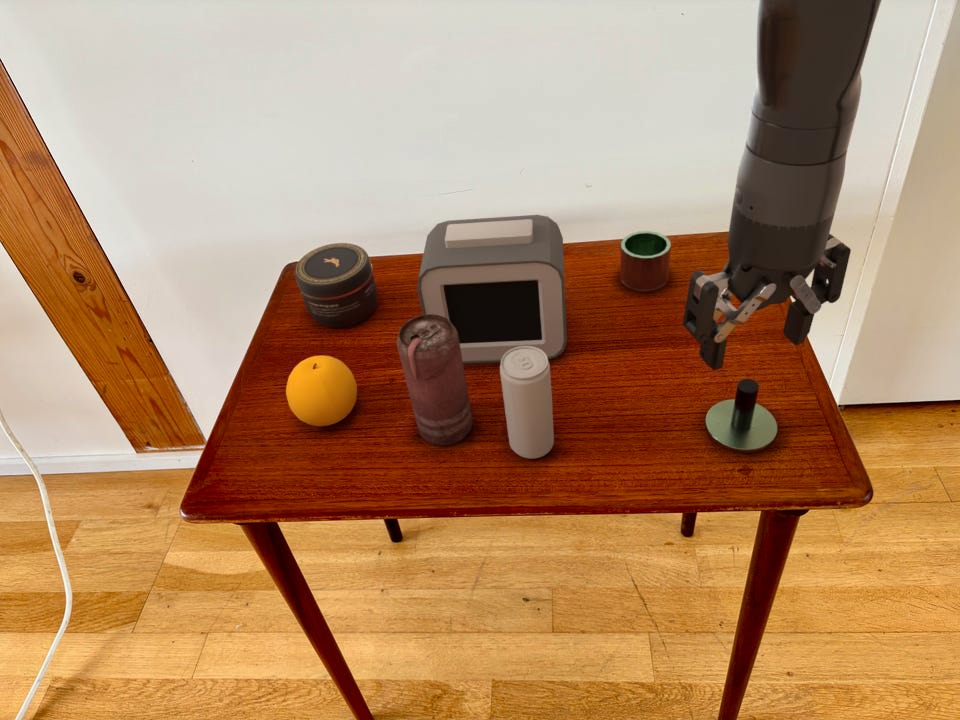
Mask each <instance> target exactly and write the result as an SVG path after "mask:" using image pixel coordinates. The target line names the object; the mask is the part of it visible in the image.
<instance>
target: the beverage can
mask: <svg viewBox="0 0 960 720" xmlns="http://www.w3.org/2000/svg"><path fill="white" fill-rule="evenodd" d="M499 374H500V382H501V383H500V384H501V389H502V398H503V406H504V411H505V412H504V413H505V418H506V427H507V435H508V443H509V446H510V449H511V450H512V451H513V452H514V453H515V454H516V455H518V456H520V457H521V458H524V459H528V460H531V459H532V460H536V459H539V458H540V459H541V458H542V457H544V456H546V455H547V454H548V453H549V452H550V451H551V450H552V448H553V447H554V444H555V432H554V418H553V417H554V415H553V413H554V412H553V393H552V392H553V391H552V381H551V380H552V379H551V366H550V362H549V359H548V358H547V355H546V354H545V353H544V352H543V351H542V350H540V349H539V348H536V347H533V346H520V347H516V348H513V349H511V350H509V351H508V352H506V353H505V354H504V356H503V357H502V359H501V362H500V365H499Z"/></svg>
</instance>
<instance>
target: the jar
mask: <svg viewBox="0 0 960 720" xmlns="http://www.w3.org/2000/svg"><path fill="white" fill-rule="evenodd" d="M294 277H295V280H296V284H297V288H298V290H299V292H300V294H301V297H302V300H303V302H304V306H305V308H306V311H307V312H308V314H309V315H310V317H311V318H312V319H313V321H315V322H316V323H317V324H319V325H321V326H323V327H326V328H330V329H343V328H349V327H352V326H355V325H357V324H360V323H361V322H363V321H365V320H366V319H367V318H369V316H371V315H372V314H373V312H374V310H375V309H376V308H377V305H378V287H377V284H376V279H375V276H374V267H373V264H372V263H371V259H370V257H369V255H368V253H367V251H366V250H365V249H364V248H363V247H361V246H359V245H357V244H354V243H347V242H336V243H330V244H325V245H322V246H319V247H317V248H315V249H312V250H310V251H309V252H307V253H306V254H304V255H303V256H302V257H301V258H300V259H299V260H298V262H297V264H295V268H294Z"/></svg>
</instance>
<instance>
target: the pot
mask: <svg viewBox="0 0 960 720" xmlns="http://www.w3.org/2000/svg"><path fill="white" fill-rule="evenodd" d="M671 251H672V244H671V240H670V239H669V238H668V237H667V236H666V235H664V234H662V233H660V232H657V231H651V230H641V231H636V232H635V231H634V232H632V233H629V234H628V235H627V236H625V237H623V239H622V241H621V242H620V266H619V267H620V271H619V274H620V283H621V284H622V285H623V286H624V287H625V288H626V289H628V290H631V291H633V292H636V293H637V292H638V293H651V292H655V291H659V290H661V289H663V287H665V286H666V285H667V283H668V281H669V277H670V263H671Z"/></svg>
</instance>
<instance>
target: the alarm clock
mask: <svg viewBox="0 0 960 720" xmlns="http://www.w3.org/2000/svg"><path fill="white" fill-rule="evenodd" d="M564 259H565V258H564V237H563V234H562V232H561V229H560V227H559V224H558V223H557V222H555V221H554V220H553V219H552V218H550V217H549V216H546V215H541V214H529V215H528V214H527V215H516V216H515V215H513V216H512V215H511V216H497V217H483V218H469V219H468V218H466V219H465V218H464V219H453V220H452V219H451V220H446V221H441V222H439V223H436V225H434V227H433V228H432V229H431V230H430V232H429V233H428V234H427V236H426V240H425V245H424V249H423V254H422V260H421V262H420V263H421V264H420V269H419V273H418V278H417V286H416V290H417V296H418V299H419V305H420V309H421V314H422V315H428V314H434V315H440V316H443V317H445V318H447V319H448V320H449V321H450V322H451V323H452V325H453V326H454V327H455V328H456V330H457V332H458V338H459V343H460V349H461V355H462V360H463V365H464V364H465V365H466V364H467V365H469V364H470V365H471V364H492V363H493V364H494V363H495V364H496V363H501V359H502V357H503V356H504V354H505V353H506V352H508V351H509V350H511V349H513V348H516V347H520V346H533V347H536V348H539V349H540V350H542V351H543V352H544V353H545V354H546V355H547V358H548V360H552V359H556V358H557V357H558V356H560V355H561V354H563V352H564V351H565V349H566V346H567V343H568V333H567V330H568V329H567V307H566V304H567V303H566V280H565V278H566V277H565V260H564Z"/></svg>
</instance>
